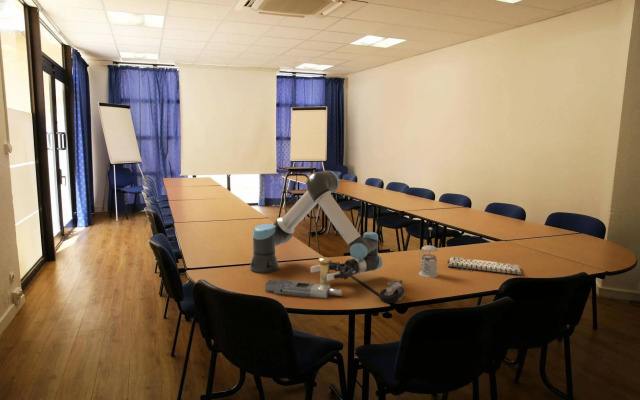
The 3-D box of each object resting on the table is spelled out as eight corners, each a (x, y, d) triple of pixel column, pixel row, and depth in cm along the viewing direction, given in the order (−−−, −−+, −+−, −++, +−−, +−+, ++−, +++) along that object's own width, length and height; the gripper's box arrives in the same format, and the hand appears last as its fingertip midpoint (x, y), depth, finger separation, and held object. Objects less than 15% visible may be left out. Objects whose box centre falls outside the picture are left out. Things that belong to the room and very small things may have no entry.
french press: (427, 278, 209) (429, 229, 205) (412, 271, 219) (414, 225, 216) (442, 275, 213) (444, 228, 210) (426, 269, 224) (428, 224, 220)
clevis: (263, 292, 187) (263, 285, 186) (270, 286, 196) (270, 278, 195) (339, 300, 179) (339, 292, 178) (343, 293, 187) (343, 285, 187)
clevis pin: (317, 289, 192) (317, 259, 190) (320, 285, 197) (320, 256, 195) (328, 290, 191) (329, 260, 189) (331, 286, 196) (331, 257, 194)
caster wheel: (382, 308, 176) (379, 297, 186) (409, 304, 176) (404, 292, 185) (380, 295, 174) (376, 283, 184) (406, 290, 174) (401, 279, 183)
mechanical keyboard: (518, 267, 230) (519, 262, 230) (522, 278, 212) (523, 272, 212) (448, 260, 243) (448, 255, 243) (446, 270, 225) (446, 264, 225)
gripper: (371, 280, 193) (334, 289, 181) (339, 267, 214) (304, 274, 202) (371, 265, 192) (334, 272, 180) (339, 253, 213) (304, 259, 201)
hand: (318, 273), depth 191 cm, fingers open, 13 cm apart
